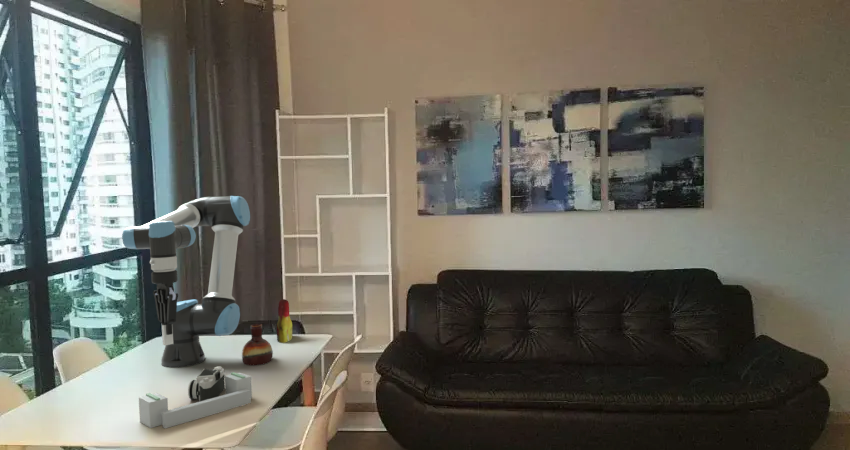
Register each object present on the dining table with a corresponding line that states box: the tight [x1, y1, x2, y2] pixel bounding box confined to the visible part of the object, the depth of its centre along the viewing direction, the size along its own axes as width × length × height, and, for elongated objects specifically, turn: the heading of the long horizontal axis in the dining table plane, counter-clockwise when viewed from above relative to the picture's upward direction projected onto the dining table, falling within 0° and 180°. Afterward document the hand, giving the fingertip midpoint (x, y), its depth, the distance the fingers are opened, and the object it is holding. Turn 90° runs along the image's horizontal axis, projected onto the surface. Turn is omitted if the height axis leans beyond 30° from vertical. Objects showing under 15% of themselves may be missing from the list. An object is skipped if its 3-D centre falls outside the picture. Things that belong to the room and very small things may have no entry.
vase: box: [241, 323, 274, 366], centre depth 224 cm, size 11×11×15 cm
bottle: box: [276, 298, 293, 344], centre depth 254 cm, size 12×6×20 cm, turn 1°
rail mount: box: [138, 371, 253, 429], centre depth 177 cm, size 10×31×8 cm, turn 137°
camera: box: [187, 365, 226, 402], centre depth 188 cm, size 16×9×10 cm, turn 2°
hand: (168, 344), depth 191 cm, fingers closed
